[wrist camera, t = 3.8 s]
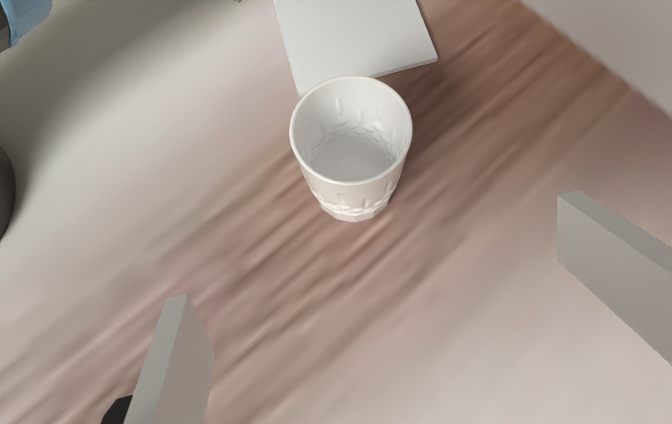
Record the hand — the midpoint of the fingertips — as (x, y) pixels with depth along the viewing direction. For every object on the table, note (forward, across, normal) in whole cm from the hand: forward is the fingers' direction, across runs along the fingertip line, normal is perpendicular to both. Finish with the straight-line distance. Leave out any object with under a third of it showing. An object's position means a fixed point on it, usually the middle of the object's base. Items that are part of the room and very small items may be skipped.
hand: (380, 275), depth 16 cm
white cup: (+23, +2, -6) cm, 24 cm away
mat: (+34, +5, +6) cm, 35 cm away
